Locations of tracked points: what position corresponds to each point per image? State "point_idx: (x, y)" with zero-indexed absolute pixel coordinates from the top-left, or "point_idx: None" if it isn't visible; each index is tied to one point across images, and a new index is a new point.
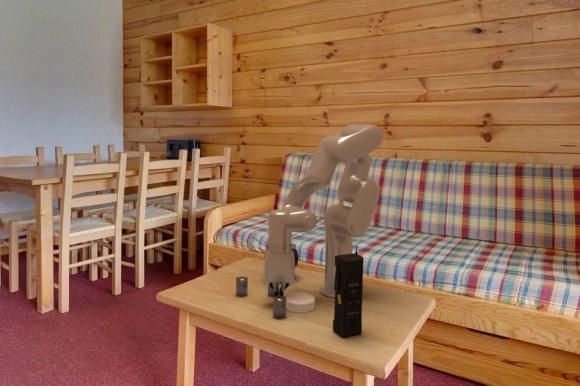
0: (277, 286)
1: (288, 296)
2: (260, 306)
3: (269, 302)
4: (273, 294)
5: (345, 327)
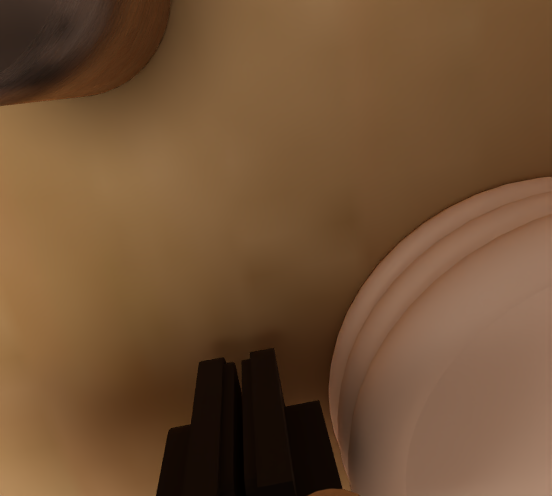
0: (112, 40)
1: (418, 452)
2: (16, 460)
3: (94, 317)
4: (81, 96)
5: None
